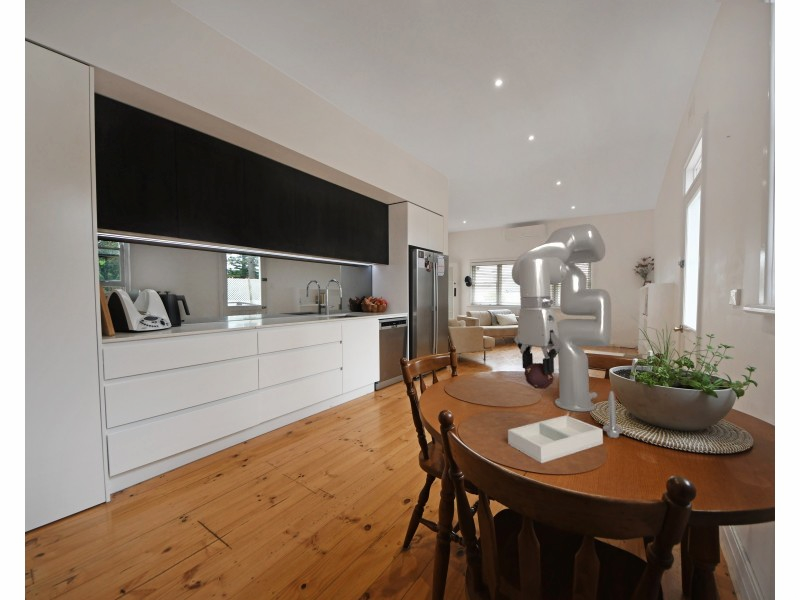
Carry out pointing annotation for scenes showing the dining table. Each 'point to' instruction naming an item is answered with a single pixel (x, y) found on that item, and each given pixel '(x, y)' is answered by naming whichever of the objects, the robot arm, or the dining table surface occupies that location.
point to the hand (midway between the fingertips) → (537, 369)
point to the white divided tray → (554, 438)
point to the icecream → (538, 376)
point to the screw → (612, 418)
